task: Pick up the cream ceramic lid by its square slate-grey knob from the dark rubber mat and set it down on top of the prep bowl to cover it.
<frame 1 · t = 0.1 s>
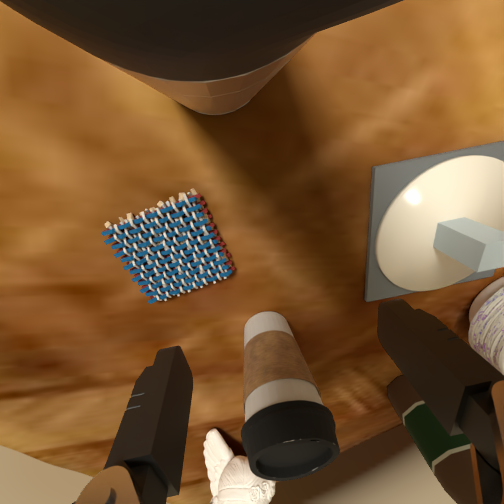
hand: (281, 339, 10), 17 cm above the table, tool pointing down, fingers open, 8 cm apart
paper bowls: (499, 299, 35), on the table
mat: (438, 227, 28), on the table
lid: (442, 229, 28), point 1 cm above the table, touching mat
coffee cup: (265, 327, 33), on the table
woven mat: (175, 245, 27), on the table
beer bottle: (405, 384, 43), on the table
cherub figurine: (237, 449, 47), on the table
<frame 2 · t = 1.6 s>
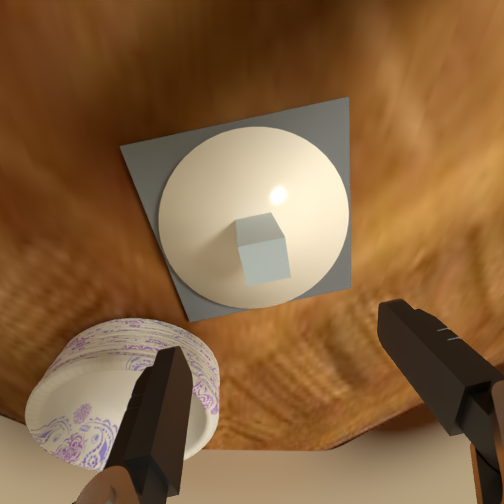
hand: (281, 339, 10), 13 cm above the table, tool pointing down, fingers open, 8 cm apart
paper bowls: (152, 350, 27), on the table
mat: (254, 227, 22), on the table
lid: (255, 229, 21), point 1 cm above the table, touching mat
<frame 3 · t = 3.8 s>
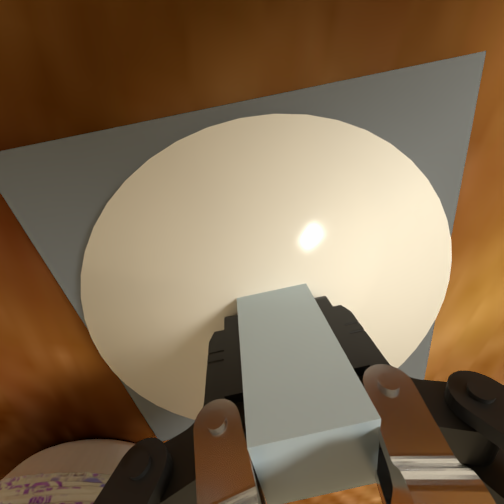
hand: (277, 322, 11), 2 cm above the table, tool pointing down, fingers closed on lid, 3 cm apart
paper bowls: (104, 470, 17), on the table
mat: (270, 299, 12), on the table
lid: (273, 306, 12), point 1 cm above the table, touching gripper, mat
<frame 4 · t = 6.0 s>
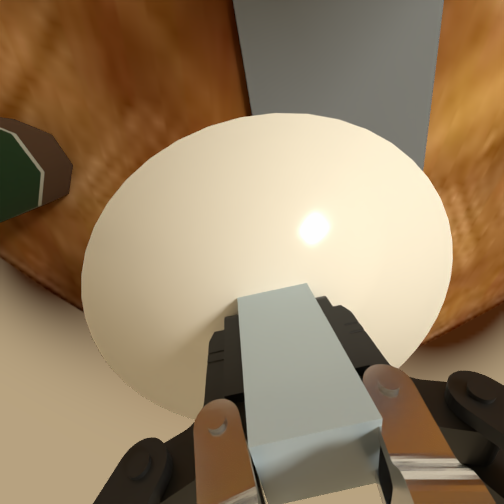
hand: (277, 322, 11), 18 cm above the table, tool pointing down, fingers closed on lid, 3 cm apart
mat: (340, 97, 23), on the table
lid: (273, 306, 12), point 17 cm above the table, touching gripper
beer bottle: (34, 164, 24), on the table
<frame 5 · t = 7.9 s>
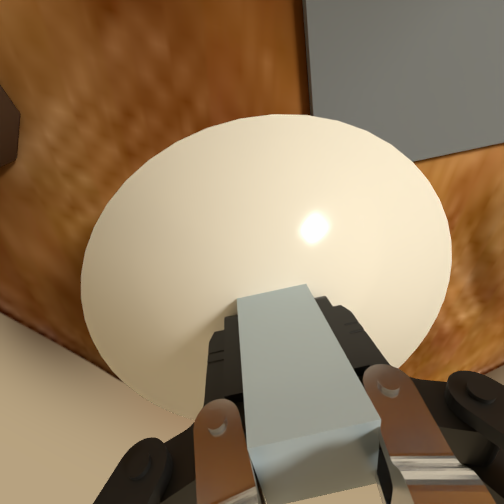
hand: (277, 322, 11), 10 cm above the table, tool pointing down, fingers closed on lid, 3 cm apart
mat: (441, 11, 15), on the table
lid: (273, 307, 12), point 9 cm above the table, touching gripper
when the fingers open (10 cm above the table, at t = 8.4 s): lid drops 1 cm, resting on paper bowls.
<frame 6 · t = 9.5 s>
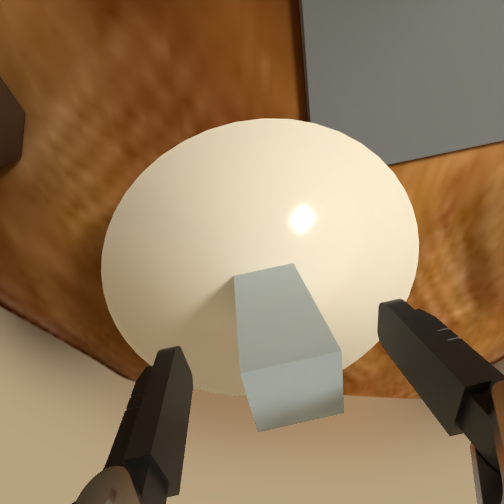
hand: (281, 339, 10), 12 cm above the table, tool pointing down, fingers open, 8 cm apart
mat: (433, 14, 15), on the table
lid: (265, 285, 13), point 8 cm above the table, touching paper bowls
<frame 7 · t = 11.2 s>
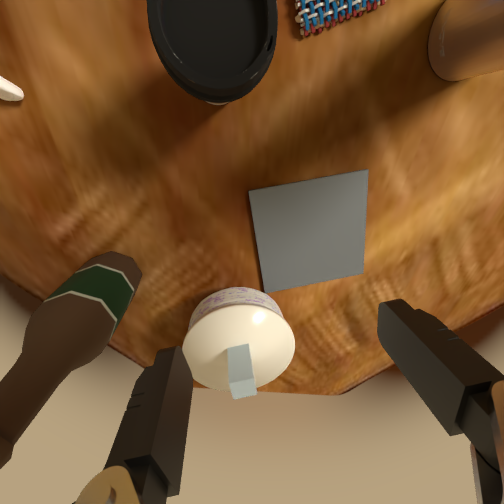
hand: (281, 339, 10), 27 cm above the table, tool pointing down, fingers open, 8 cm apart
paper bowls: (235, 313, 43), on the table, touching lid
mat: (310, 235, 38), on the table
lid: (239, 348, 35), point 8 cm above the table, touching paper bowls
coffee cup: (216, 75, 28), on the table
beer bottle: (116, 272, 37), on the table
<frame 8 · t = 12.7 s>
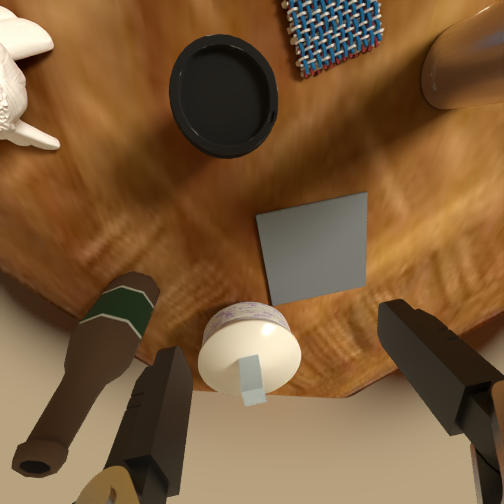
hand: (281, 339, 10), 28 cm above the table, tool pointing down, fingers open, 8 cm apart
paper bowls: (245, 323, 46), on the table, touching lid
mat: (314, 252, 40), on the table
lid: (249, 358, 38), point 8 cm above the table, touching paper bowls
coffee cup: (224, 115, 31), on the table
woven mat: (327, 13, 28), on the table
beer bottle: (137, 289, 40), on the table
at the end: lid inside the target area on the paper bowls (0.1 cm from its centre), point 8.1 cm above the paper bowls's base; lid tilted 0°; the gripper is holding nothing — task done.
